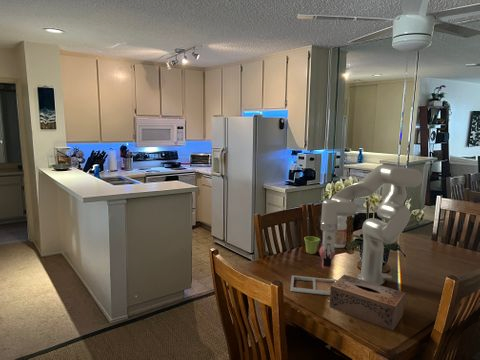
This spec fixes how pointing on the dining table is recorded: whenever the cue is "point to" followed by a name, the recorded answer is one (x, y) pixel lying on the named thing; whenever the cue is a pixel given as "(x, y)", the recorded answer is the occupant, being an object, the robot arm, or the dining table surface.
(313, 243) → the plant pot
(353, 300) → the tissue box cover
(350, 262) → the dining table surface
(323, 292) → the rail frame
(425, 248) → the dining table surface
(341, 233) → the fruit juice
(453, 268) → the dining table surface
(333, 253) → the light bulb
